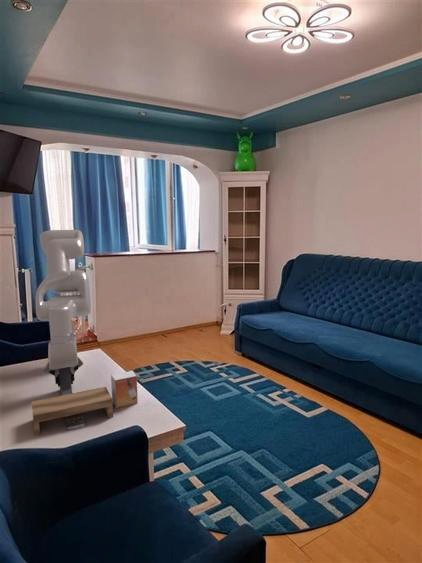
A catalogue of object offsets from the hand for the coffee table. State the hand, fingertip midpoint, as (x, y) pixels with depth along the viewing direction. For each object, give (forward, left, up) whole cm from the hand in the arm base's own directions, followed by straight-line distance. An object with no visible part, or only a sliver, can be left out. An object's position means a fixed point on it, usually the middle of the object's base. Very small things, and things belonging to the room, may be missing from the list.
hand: (65, 383), depth 150 cm
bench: (+22, 0, -3) cm, 22 cm away
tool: (+9, 0, -3) cm, 9 cm away
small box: (+19, +18, -3) cm, 26 cm away
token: (+27, 0, -3) cm, 27 cm away
